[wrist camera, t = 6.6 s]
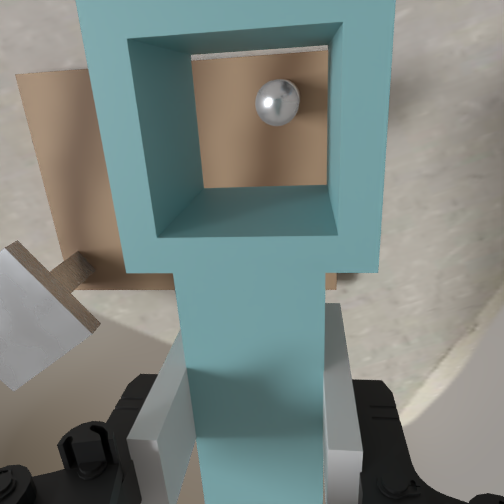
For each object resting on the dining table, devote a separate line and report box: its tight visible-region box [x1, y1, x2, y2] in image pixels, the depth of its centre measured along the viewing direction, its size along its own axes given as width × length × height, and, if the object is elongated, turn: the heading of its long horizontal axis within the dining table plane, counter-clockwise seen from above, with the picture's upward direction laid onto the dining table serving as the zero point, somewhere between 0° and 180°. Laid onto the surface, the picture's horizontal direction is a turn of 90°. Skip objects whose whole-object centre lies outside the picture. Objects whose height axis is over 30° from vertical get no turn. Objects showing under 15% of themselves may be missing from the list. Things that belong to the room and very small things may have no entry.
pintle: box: [255, 79, 300, 126], centre depth 24 cm, size 2×2×7 cm
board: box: [15, 50, 337, 290], centre depth 29 cm, size 21×16×2 cm
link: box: [76, 0, 396, 504], centre depth 15 cm, size 20×7×6 cm, turn 3°
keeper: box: [0, 240, 100, 391], centre depth 27 cm, size 7×6×12 cm
